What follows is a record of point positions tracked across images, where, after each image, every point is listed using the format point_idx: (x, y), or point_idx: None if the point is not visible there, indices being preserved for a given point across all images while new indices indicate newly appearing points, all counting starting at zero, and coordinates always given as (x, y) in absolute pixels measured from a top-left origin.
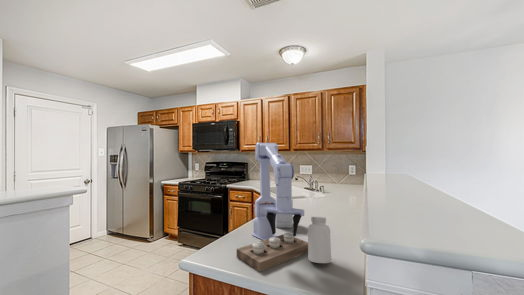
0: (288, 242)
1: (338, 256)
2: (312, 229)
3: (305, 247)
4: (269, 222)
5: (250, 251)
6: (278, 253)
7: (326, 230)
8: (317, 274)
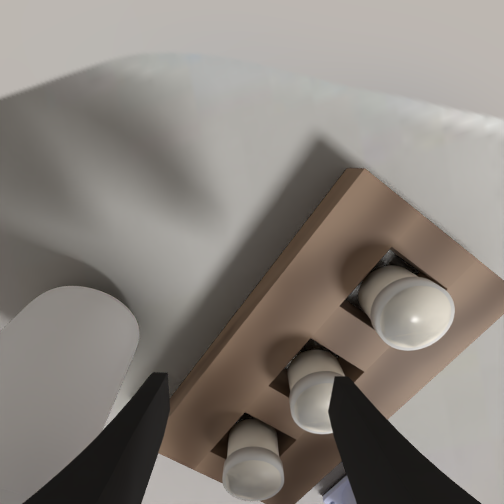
0: (250, 429)
1: None
2: None
3: None
4: (449, 480)
5: None
6: (280, 302)
7: None
8: (84, 222)
